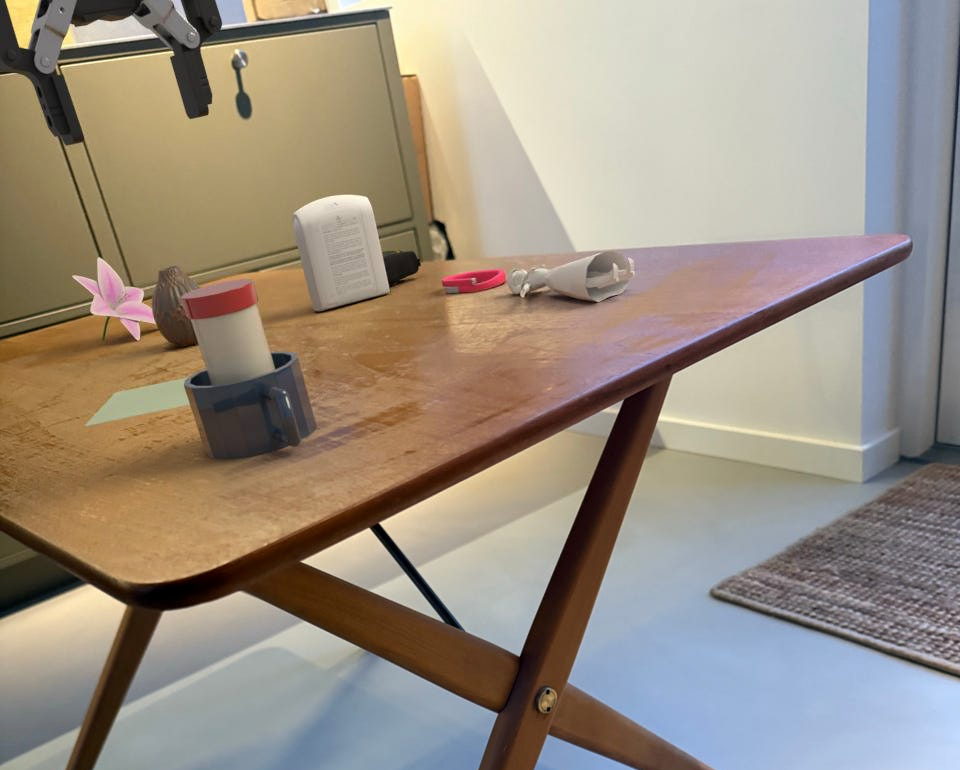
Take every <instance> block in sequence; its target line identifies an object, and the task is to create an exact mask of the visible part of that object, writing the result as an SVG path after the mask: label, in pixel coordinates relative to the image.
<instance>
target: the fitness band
mask: <svg viewBox="0 0 960 770" xmlns="http://www.w3.org/2000/svg"><path fill="white" fill-rule="evenodd" d="M476 281H479V282H476ZM505 282H507V278H506V272H505V269H503V268H502V269H501V268H497V269H496V268H495V269H483V270H474V271H467V272H461V273H456V274H452V275H448V276H446V277H443V278H442V279H441V285H442V287H443V288H444V287H445V292H446V293H445V294H458V293H459V294H460V293H471V292H478V291H483V290H487V289H490V288H493V287H498V286H500V285H502V284H503V283H505Z"/></svg>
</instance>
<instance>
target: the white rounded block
mask: <svg viewBox="0 0 960 770" xmlns="http://www.w3.org/2000/svg"><path fill="white" fill-rule="evenodd" d="M292 226H293V233H294V237H295V241H296V246H297V249H298V254H299V258H300V263H301V266H302V270H303V275H304V279H305V282H306V286H307V290H308V294H309V295H308V296H309V298H310V303H311V306H312V310H313V311H315V312H324V311H327V310H331V309H335V308H339V307H342V306H345V305H346V306H347V305H349V304H353V303H358V302H361V301H365V300H368V299H372V298H376V297H379V296H384V295H388V294H390V292H391V291H390V284H388V280H387V275H386V270H385V265H384V261H383V256H382V252H383V251H382V247H381V242H380V238H379V232H378V227H377V223H376V219H375V214H374V210H373V206H372V204H371V202H370V200H369V198H368V197H367V196H363V195H360V194H359V195H357V194H337V195H330V196H325V197H322V198H319V199H315V200H313V201H311V202H308V203H307V204H305V205H303V206H302V207H301V208H298V210H296V211H295V212H293V213H292Z"/></svg>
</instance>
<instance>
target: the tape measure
mask: <svg viewBox="0 0 960 770" xmlns="http://www.w3.org/2000/svg"><path fill="white" fill-rule="evenodd" d="M382 256H383V261H384V265H385V270H386V275H387V280H388V284H389V286H395V285H397V284H398V283H399V281H401V280H402V279H406V278H408V277H411V276H413V275H415V274H417V273H419V268H420V267H422V263H421V258H420V257H419V258H418V255H417V254H416V252H415V251H414V250H407V251H403V250H400V249H399V250H396V249H394V250H393V249H392V250H385V251H382Z"/></svg>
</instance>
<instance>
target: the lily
mask: <svg viewBox="0 0 960 770" xmlns="http://www.w3.org/2000/svg"><path fill="white" fill-rule="evenodd" d="M96 263H97V264H96V265H97V267H96V268H97V280H94V279H92V278H88V277H86V276H81V275H75V274H74V275H71V277H72V278H73V279H74V280H75V281H77V283H79V284H80V285H81V286H82V287H84V289H86V290H87V291H89V292H90V294H92V295H93V299H92V302H91V305H90V310H89V311H90V314H92V315H94V316H101V317H106V318H105V319H106V320H105V323H104V328H103V332H102V337H101V338H102V339H101V342H105V341H106V340H105V339H106V333H107V328H108V324H109V321H110V319H111V317H114V318H117V319H118V320H119V321H120V322H121V323H122V325H123V326H124V327H125V328H126V329H127V331H129V333H130V334H131V335H132V336H133V337H134V339H135V340H137V341H140V339H141V327H140V323H139V322H144V323H149V324H154V325H156V323H155V320H154V317H153V312H152V307H151V306H149V305H148V304H146V303H143V299H144V297H145V291H144V289H142V288H141V287H136V286H125V284H124V282H123V280H122V278H121V277H120V276H119V275H118V273H117V272H116V271H115V269H114V268H113V267H112V266H111V265H110V264H109V263H108V262H107V261H105V259H103V258H102V257H97V260H96Z"/></svg>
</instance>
